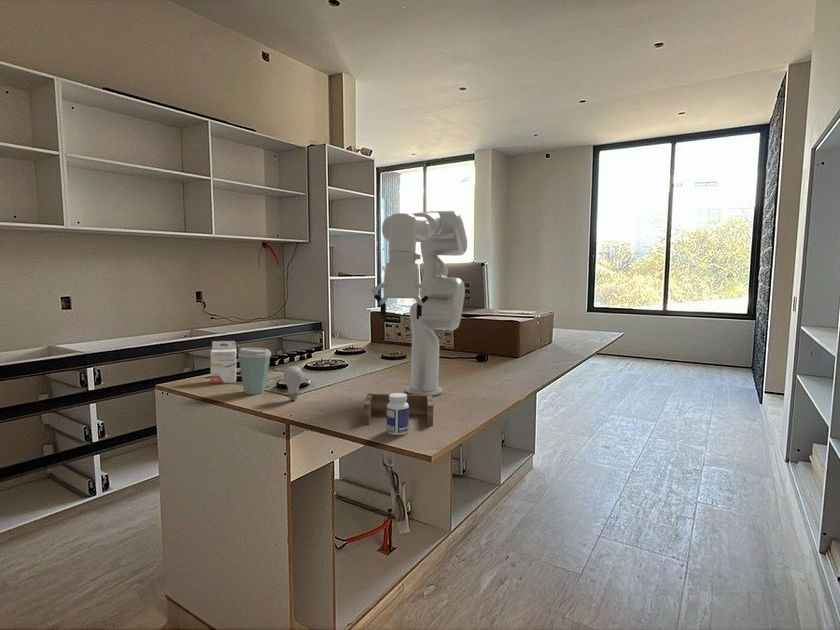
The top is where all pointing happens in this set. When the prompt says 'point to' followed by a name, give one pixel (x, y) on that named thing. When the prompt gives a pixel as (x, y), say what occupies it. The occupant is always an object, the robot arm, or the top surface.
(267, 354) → the disposable coffee cup
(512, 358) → the top surface
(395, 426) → the pill bottle
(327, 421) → the top surface
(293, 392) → the lightbulb
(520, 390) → the top surface
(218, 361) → the ink cartridge box
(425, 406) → the open wooden frame
